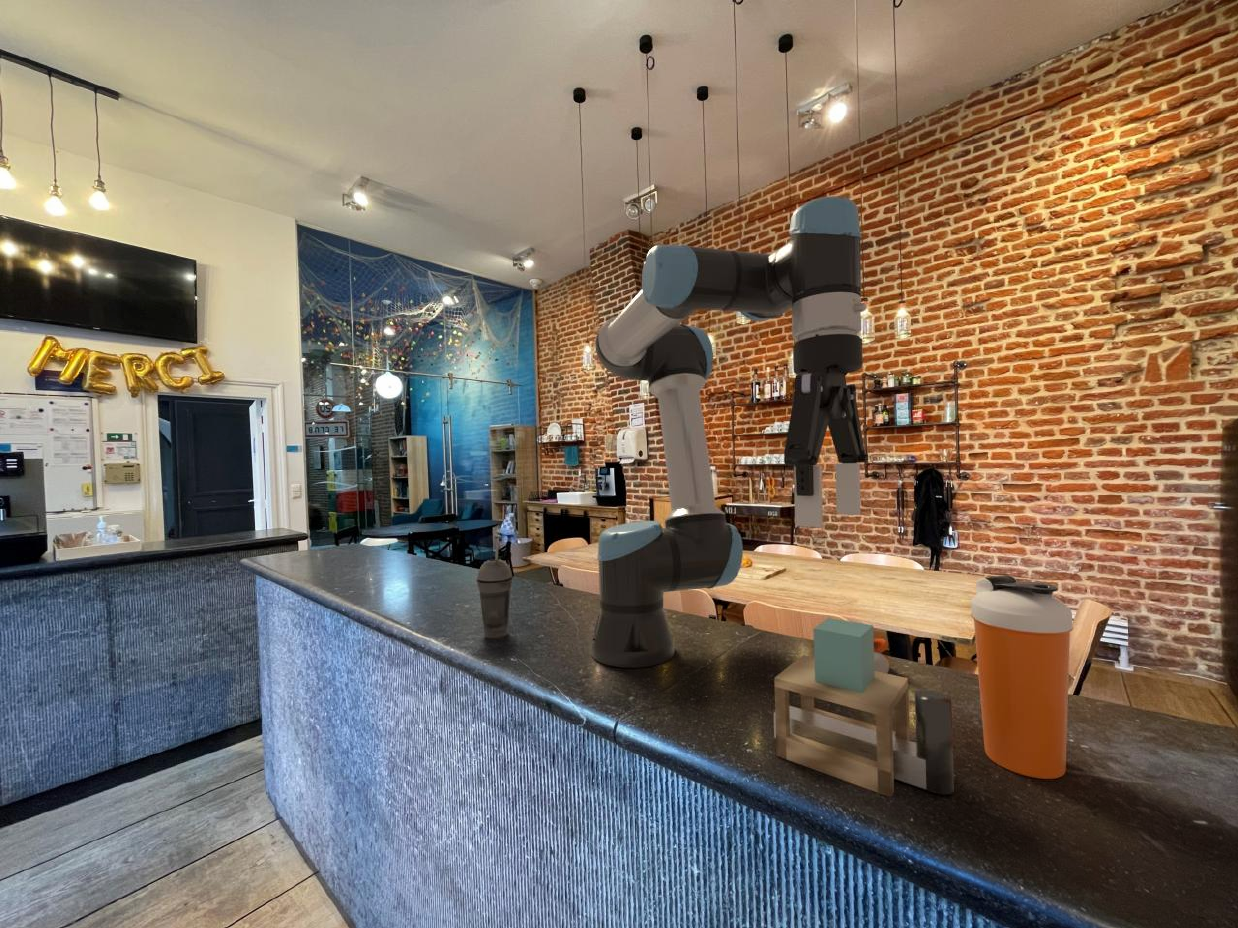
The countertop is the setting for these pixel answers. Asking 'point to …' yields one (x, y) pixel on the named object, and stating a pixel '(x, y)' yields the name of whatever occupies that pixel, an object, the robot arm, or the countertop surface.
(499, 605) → the beverage cup
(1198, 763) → the countertop surface
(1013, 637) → the shaker bottle
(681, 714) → the countertop surface
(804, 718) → the hammer
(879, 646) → the rainbow segmented toy
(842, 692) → the tunnel
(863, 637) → the block
